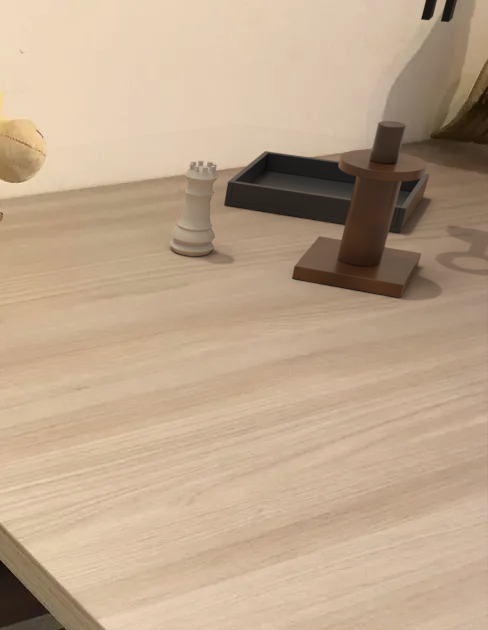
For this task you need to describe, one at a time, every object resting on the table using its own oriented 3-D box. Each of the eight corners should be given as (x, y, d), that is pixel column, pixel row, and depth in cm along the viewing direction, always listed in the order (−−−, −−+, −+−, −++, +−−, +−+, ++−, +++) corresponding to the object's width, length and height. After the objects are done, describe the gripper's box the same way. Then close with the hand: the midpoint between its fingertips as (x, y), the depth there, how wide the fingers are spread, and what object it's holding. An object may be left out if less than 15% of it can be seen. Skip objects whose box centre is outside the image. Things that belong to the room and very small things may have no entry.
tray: (423, 197, 119) (429, 173, 118) (399, 233, 109) (406, 208, 107) (261, 173, 126) (264, 150, 124) (224, 205, 115) (227, 181, 114)
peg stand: (418, 265, 101) (459, 119, 93) (399, 298, 94) (442, 143, 86) (316, 248, 105) (347, 106, 96) (291, 278, 98) (322, 128, 89)
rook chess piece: (222, 252, 103) (236, 166, 98) (189, 260, 101) (202, 173, 96) (192, 239, 106) (204, 155, 101) (159, 247, 104) (170, 161, 99)
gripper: (425, -305, 88) (357, 17, 103) (608, -307, 83) (508, 31, 98) (438, -298, 93) (371, 7, 108) (611, -300, 88) (515, 20, 103)
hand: (436, 18), depth 103 cm, fingers closed
